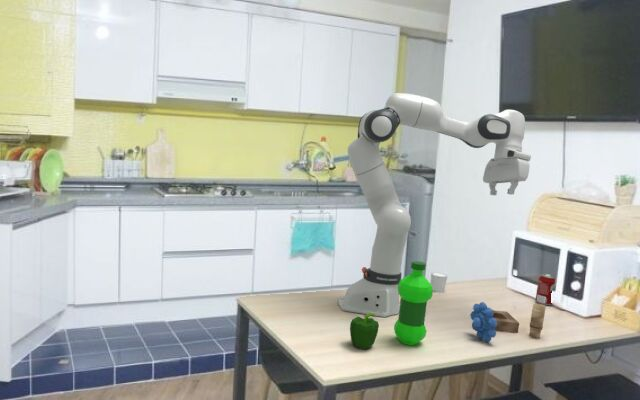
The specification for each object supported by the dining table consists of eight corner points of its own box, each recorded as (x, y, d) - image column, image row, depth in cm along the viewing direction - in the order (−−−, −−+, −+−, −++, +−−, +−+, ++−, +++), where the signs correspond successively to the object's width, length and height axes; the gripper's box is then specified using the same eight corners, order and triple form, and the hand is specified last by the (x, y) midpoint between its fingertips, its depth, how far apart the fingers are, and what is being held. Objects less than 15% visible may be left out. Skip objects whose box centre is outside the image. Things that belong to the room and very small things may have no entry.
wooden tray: (483, 329, 187) (484, 319, 187) (473, 317, 199) (474, 308, 199) (517, 332, 188) (519, 323, 187) (505, 320, 200) (507, 311, 199)
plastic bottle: (421, 336, 174) (431, 260, 171) (428, 349, 164) (439, 268, 161) (389, 333, 174) (399, 257, 171) (395, 346, 163) (405, 265, 160)
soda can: (544, 306, 223) (549, 278, 222) (531, 301, 229) (535, 273, 228) (555, 305, 227) (560, 277, 225) (542, 300, 233) (547, 273, 231)
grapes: (458, 333, 181) (463, 298, 180) (474, 332, 184) (479, 297, 183) (482, 347, 171) (488, 310, 169) (499, 345, 174) (504, 309, 172)
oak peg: (530, 338, 184) (535, 306, 182) (526, 333, 188) (530, 302, 186) (543, 339, 184) (548, 307, 182) (538, 334, 188) (542, 304, 187)
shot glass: (447, 291, 232) (449, 275, 231) (442, 294, 226) (444, 277, 225) (432, 287, 236) (434, 271, 235) (426, 290, 230) (428, 274, 229)
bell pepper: (348, 350, 157) (352, 316, 156) (347, 339, 166) (351, 307, 164) (377, 353, 157) (381, 319, 156) (374, 342, 166) (378, 310, 164)
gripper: (481, 157, 201) (476, 193, 200) (519, 151, 182) (513, 191, 181) (496, 160, 204) (490, 197, 202) (534, 155, 184) (528, 195, 183)
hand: (501, 194), depth 192 cm, fingers open, 8 cm apart
